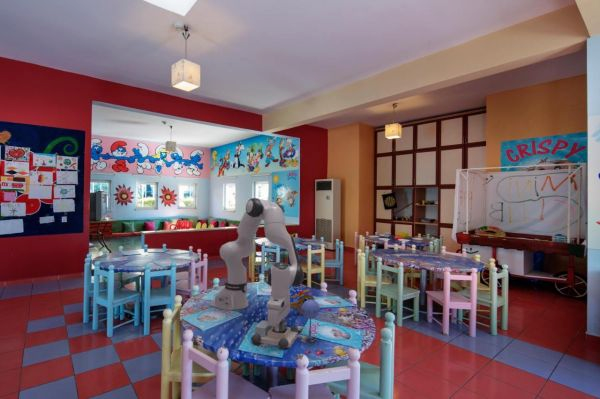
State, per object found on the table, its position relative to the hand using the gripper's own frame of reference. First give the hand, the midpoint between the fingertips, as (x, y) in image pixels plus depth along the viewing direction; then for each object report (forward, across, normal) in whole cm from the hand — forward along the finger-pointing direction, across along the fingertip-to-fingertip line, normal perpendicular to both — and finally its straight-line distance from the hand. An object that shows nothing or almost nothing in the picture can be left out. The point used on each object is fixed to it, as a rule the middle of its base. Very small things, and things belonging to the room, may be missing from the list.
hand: (279, 328), depth 144 cm
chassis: (+5, 0, -2) cm, 5 cm away
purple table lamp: (+5, -6, +13) cm, 15 cm away
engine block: (+2, 0, 0) cm, 2 cm away
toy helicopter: (+5, -33, 0) cm, 33 cm away
